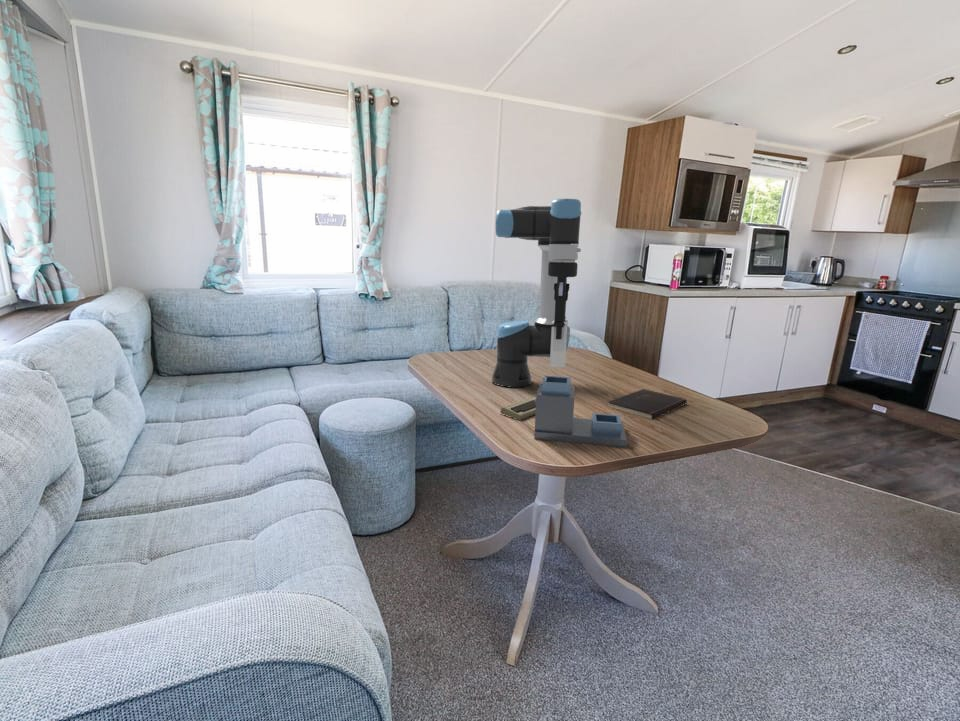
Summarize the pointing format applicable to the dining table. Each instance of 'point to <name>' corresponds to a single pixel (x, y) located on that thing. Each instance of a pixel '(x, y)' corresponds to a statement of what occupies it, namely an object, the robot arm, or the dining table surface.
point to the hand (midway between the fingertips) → (558, 348)
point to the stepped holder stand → (559, 421)
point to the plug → (559, 356)
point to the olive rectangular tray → (521, 408)
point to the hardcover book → (646, 403)
